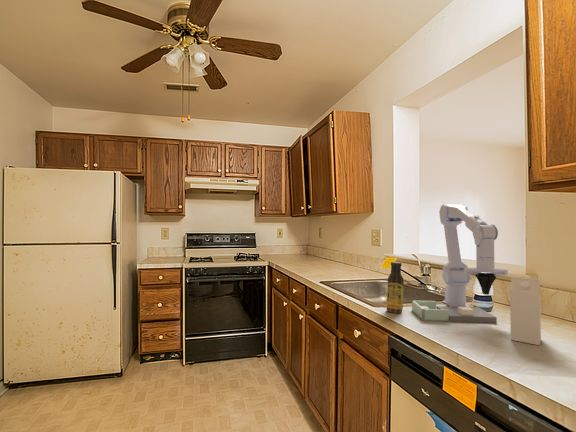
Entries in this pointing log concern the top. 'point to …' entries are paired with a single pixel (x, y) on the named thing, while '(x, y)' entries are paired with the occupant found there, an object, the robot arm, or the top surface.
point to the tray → (429, 311)
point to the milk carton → (525, 310)
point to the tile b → (465, 311)
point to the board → (477, 317)
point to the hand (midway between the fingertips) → (485, 294)
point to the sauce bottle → (395, 289)
